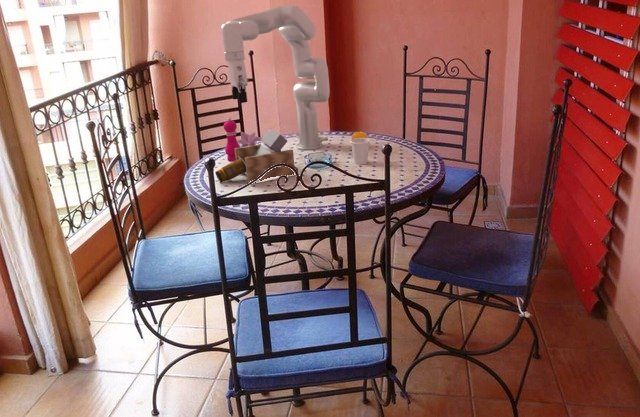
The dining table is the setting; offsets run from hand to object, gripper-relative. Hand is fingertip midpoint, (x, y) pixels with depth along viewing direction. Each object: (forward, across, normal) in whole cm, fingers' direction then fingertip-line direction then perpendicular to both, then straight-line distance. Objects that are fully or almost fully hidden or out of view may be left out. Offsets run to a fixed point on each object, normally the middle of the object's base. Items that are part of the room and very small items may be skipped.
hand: (240, 100), depth 217 cm
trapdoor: (+25, 0, -8) cm, 26 cm away
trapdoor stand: (+32, 0, -8) cm, 33 cm away
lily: (+33, +43, -13) cm, 55 cm away
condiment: (+26, -1, +1) cm, 26 cm away
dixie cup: (+32, -8, -48) cm, 59 cm away
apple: (+33, +15, -59) cm, 69 cm away
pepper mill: (+32, +30, -1) cm, 44 cm away
